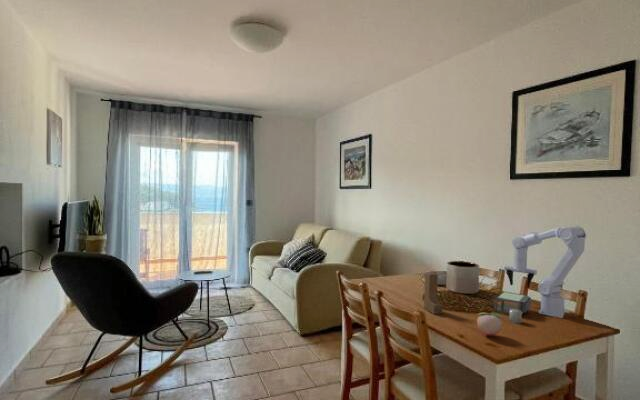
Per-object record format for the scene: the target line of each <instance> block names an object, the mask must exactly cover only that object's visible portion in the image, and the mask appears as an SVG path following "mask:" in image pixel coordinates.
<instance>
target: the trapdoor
mask: <svg viewBox="0 0 640 400" xmlns="http://www.w3.org/2000/svg"><path fill="white" fill-rule="evenodd" d="M507 292H508V291H505V292H504V293H502V292H501V294H500V295H499V296H497V297H498V298H504V299H509V300H514V301H520V302H522V304H521V311H522V312H525V313H527V311H528V310H529V309H530V308H531V306H532V297H531V296H528V295H527V296H524V295H525V294H522V295H518V294H519V293H516V294H512V293H513V292H510V293H507Z"/></svg>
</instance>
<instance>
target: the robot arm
mask: <svg viewBox="0 0 640 400" xmlns="http://www.w3.org/2000/svg"><path fill="white" fill-rule="evenodd" d="M555 237H556V238H559V239H561V241H563V243H564V244H565V245H566V247H567V250H566V251H565V253H564V255H563V256H562V258H561V259H560V261H558V263H557V264H556V267H555V268H554V270H553V271H552V272H551V274H550V275H548V276H547V277H546V278H544V279H543V281H541V282H540V283H538V286H537V289H538V292H539V293H540V309H539V310H538V314H539V315H545V316H551V317H554V318H560V319H563V318H564V315H565V313H566V311H565V303H566V302H565V297H564V296H560V293H561V292H562V291H563V288H564V285H565V281H564V280H565V279H566V278H567V277H568V276H567V275H568V274H569V273H570V271H571V270H572V269H573V267H574V266H575V265H576V263H577V262H578V260H579V259H580V257H581V256H582V255H583V253H584V251H585V243H586V238H587V237H588V236H587V233H586V231H585V229H584V228H583V227H582V226H579V225H574V226H563V227H556V228H553V229H550V230H547V231H544V232H542V233H539V232H537V231H530V233H528V234H522V235H521V236H515V237H514V238H513V239H512V240H511V245H512V246H513V247H514V248H513V249H514V250H513V251H514V254H513V255H514V257H513V266H508V265H507V266H504V271H506V272H505V273H506V276H507V277H508V281H509V285H510V286H513V285H514V272H516V273H524V274H526V276H527V277H526V278H527V282H526V283H527V284H526V288H527V289H529V288H530V285H531V282H532V280H533V278H534V276H537V273H538V270H536V269H530V268H528V267H527V266H528V249H529V247H532V246H534V245H540V244H541V243H542V242H543V240H547V239H552V238H555Z"/></svg>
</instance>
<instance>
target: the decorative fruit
mask: <svg viewBox="0 0 640 400" xmlns="http://www.w3.org/2000/svg"><path fill="white" fill-rule="evenodd" d="M503 319H504V318H503V317H502V316H501V315H499V314H497V313H491V310H490V311H489V313H488V312H483V311H482V312H479V313H477V320H476V322H477V323H476V324H477V327H478V328H479V330H480V331H481V332H482V333H483V334H485V335H487V336H488V337H491V336H495V335H498V334H499V333H500V332H501V331H502V328H503V321H502V320H503Z"/></svg>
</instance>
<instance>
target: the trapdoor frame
mask: <svg viewBox="0 0 640 400" xmlns="http://www.w3.org/2000/svg"><path fill="white" fill-rule="evenodd" d="M504 292H507V293H512V294H518V295H524V296H528V295H527V294H526V295H525V294H521V293H516V292H510V291H504V290H501V294H502V293H504ZM498 297H499V296H494V298H493V300H494V301H493V302H494V303H493V304H494V305H493V306H494V308H493V312H494V313H499V314H504V315H508V316H509V311H510V309H518V310H521V304H522V302H520V301H514V300H509V299H504V298H498ZM498 301H500V304H499V305H498ZM505 302H507V303H505ZM508 303H510V304H508ZM511 303H514V304H511ZM515 304H518V305H515ZM525 313H526V312H522V316H523V315H524V314H525Z"/></svg>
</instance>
